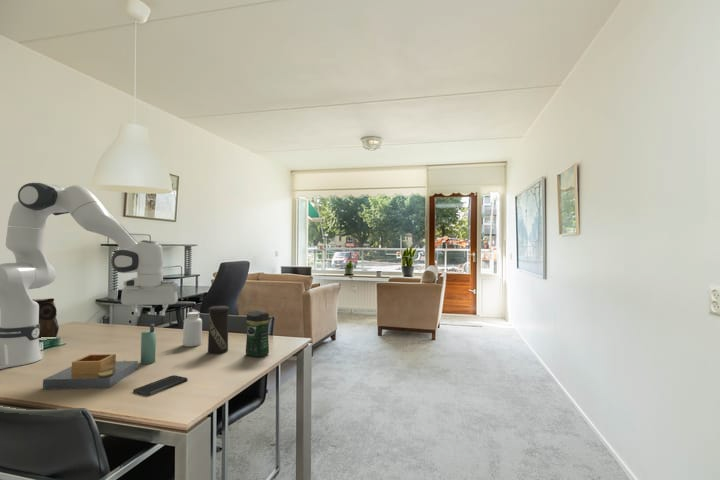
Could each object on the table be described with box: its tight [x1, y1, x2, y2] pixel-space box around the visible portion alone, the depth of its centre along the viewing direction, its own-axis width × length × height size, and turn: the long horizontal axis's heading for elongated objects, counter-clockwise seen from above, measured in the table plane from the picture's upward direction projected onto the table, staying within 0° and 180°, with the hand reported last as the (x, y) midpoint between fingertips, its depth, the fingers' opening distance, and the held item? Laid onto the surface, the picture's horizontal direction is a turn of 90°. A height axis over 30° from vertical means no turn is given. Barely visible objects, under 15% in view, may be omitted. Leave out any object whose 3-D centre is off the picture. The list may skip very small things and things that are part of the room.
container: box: [207, 305, 230, 355], centre depth 159 cm, size 9×9×20 cm
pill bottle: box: [182, 311, 203, 347], centre depth 170 cm, size 8×8×15 cm
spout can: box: [140, 323, 157, 365], centre depth 143 cm, size 5×5×15 cm
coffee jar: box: [245, 310, 270, 358], centre depth 155 cm, size 10×8×19 cm
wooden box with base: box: [42, 353, 139, 390], centre depth 125 cm, size 20×18×7 cm
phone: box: [132, 374, 189, 397], centre depth 119 cm, size 8×1×15 cm
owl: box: [31, 297, 60, 338], centre depth 177 cm, size 13×13×20 cm
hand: (149, 315), depth 143 cm, fingers open, 8 cm apart
